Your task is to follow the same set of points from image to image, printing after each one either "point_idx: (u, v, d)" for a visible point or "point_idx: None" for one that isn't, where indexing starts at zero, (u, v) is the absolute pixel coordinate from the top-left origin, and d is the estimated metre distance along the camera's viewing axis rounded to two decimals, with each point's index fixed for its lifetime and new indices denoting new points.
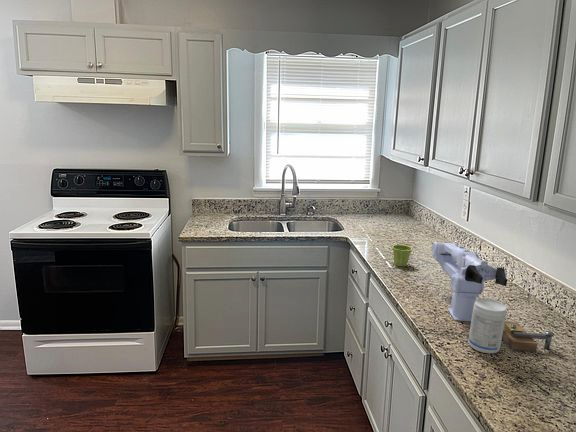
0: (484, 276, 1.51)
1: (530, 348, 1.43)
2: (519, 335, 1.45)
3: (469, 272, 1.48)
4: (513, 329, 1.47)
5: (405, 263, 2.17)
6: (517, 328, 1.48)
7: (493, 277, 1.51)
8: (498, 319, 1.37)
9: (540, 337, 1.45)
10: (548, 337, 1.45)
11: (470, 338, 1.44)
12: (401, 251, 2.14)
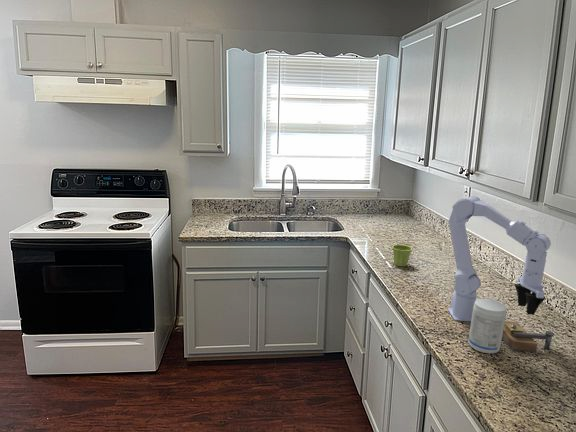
0: None
1: (530, 348, 1.43)
2: (519, 335, 1.45)
3: None
4: (513, 329, 1.47)
5: (405, 263, 2.17)
6: (517, 328, 1.48)
7: None
8: (498, 319, 1.37)
9: (540, 337, 1.45)
10: (548, 337, 1.45)
11: (470, 338, 1.44)
12: (401, 251, 2.14)
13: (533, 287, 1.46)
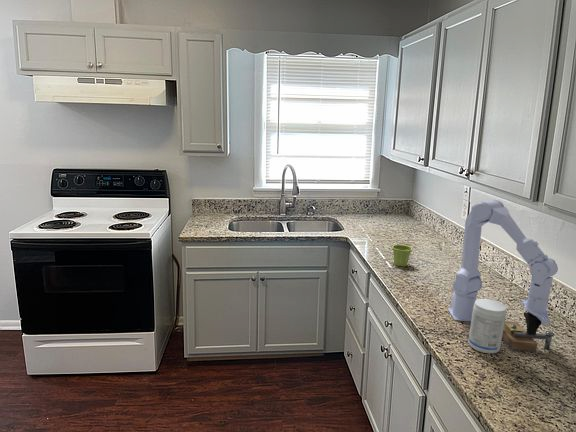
0: None
1: (530, 348, 1.43)
2: (519, 335, 1.45)
3: None
4: (513, 329, 1.47)
5: (405, 263, 2.17)
6: (517, 328, 1.48)
7: None
8: (498, 319, 1.37)
9: (540, 337, 1.45)
10: (548, 337, 1.45)
11: (470, 338, 1.44)
12: (401, 251, 2.14)
13: (538, 313, 1.41)
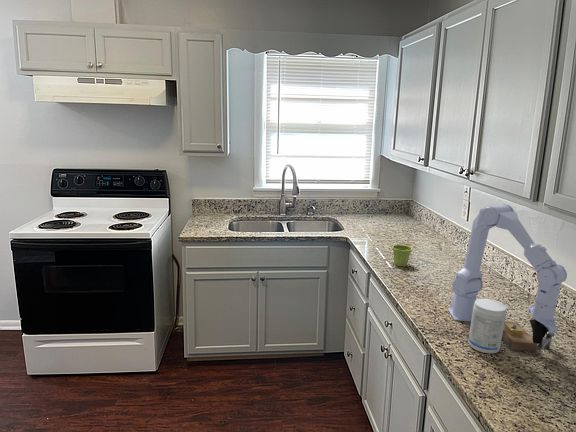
0: None
1: (530, 348, 1.43)
2: (542, 347, 1.38)
3: None
4: (513, 329, 1.47)
5: (405, 263, 2.17)
6: (517, 328, 1.48)
7: None
8: (498, 319, 1.37)
9: (548, 341, 1.43)
10: (550, 337, 1.44)
11: (470, 338, 1.44)
12: (401, 251, 2.14)
13: (545, 320, 1.37)
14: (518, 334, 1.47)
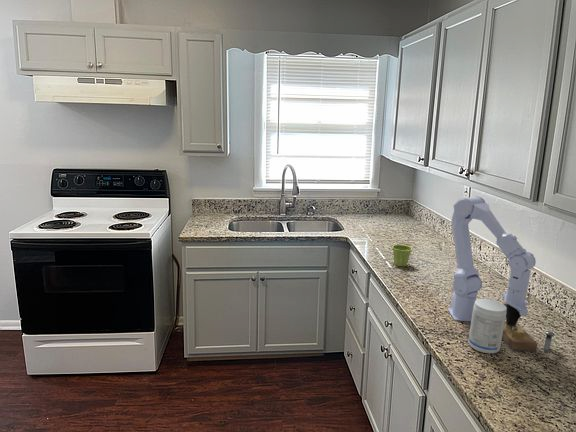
0: None
1: (530, 348, 1.43)
2: (548, 349, 1.37)
3: None
4: (514, 331, 1.46)
5: (405, 263, 2.17)
6: (519, 329, 1.47)
7: None
8: (498, 319, 1.37)
9: (550, 341, 1.43)
10: (551, 337, 1.44)
11: (470, 338, 1.44)
12: (401, 251, 2.14)
13: (517, 304, 1.47)
14: (519, 336, 1.46)
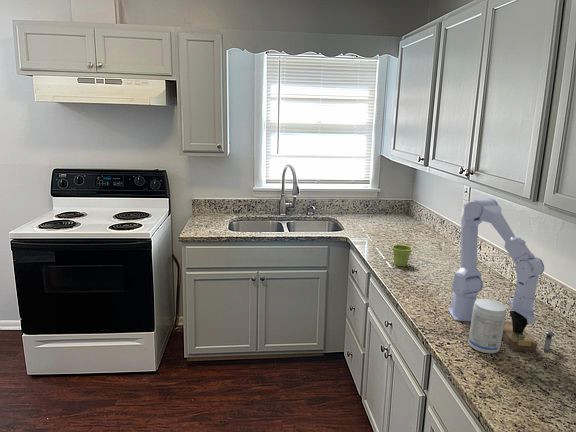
0: None
1: (530, 348, 1.43)
2: (548, 349, 1.37)
3: None
4: (521, 339, 1.41)
5: (405, 263, 2.17)
6: (526, 337, 1.42)
7: None
8: (498, 319, 1.37)
9: (550, 341, 1.43)
10: (551, 337, 1.44)
11: (470, 338, 1.44)
12: (401, 251, 2.14)
13: (524, 311, 1.41)
14: (527, 344, 1.41)
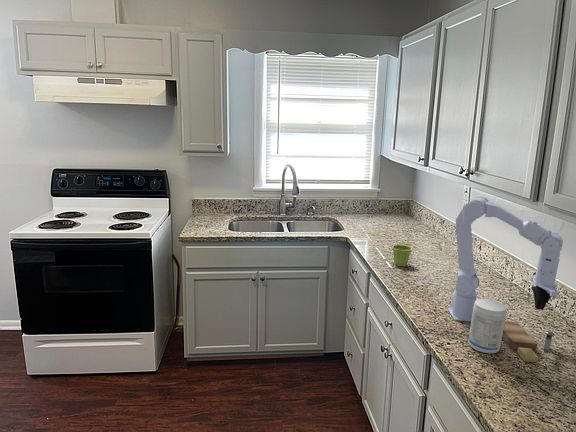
0: None
1: None
2: (548, 349, 1.37)
3: None
4: None
5: (405, 263, 2.17)
6: None
7: None
8: (498, 319, 1.37)
9: (550, 341, 1.43)
10: (551, 337, 1.44)
11: (470, 338, 1.44)
12: (401, 251, 2.14)
13: (547, 286, 1.46)
14: None
